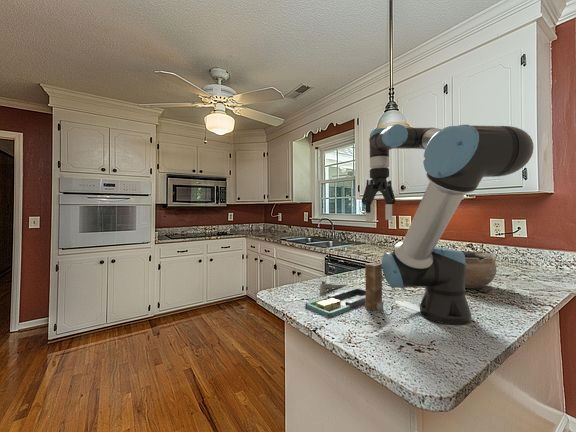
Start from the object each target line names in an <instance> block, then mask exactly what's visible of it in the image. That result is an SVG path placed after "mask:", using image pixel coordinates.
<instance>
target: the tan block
mask: <svg viewBox="0 0 576 432" xmlns="http://www.w3.org/2000/svg"><path fill="white" fill-rule="evenodd" d="M315 306H316V307H319V308H321V309H324V310H326V311H329V312H330V311H333V310H332V303H331V302H328V301H325V300H323V301H319V302H316V305H315Z"/></svg>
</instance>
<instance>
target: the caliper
mask: <svg viewBox="0 0 576 432" xmlns="http://www.w3.org/2000/svg"><path fill="white" fill-rule="evenodd" d="M348 285H349V283H348V284H345V283H344V284H333V283H327V282H326V281H325V280H324V281H321V283H320V286H319V294H320V295H321V294H324V293H327V291H332V290H333V289H339V288H340V289H341V288H343V287H345V286H348Z"/></svg>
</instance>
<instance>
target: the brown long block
mask: <svg viewBox="0 0 576 432" xmlns="http://www.w3.org/2000/svg"><path fill="white" fill-rule="evenodd" d="M364 266H365V268H364V269H365V279H364V280H365V290H366V299H365V304H364V308H365V309H368V310H371V311H373V312H381V311H383V310H384V301H383V269H382V263H376V262H369V263H365V264H364Z"/></svg>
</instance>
